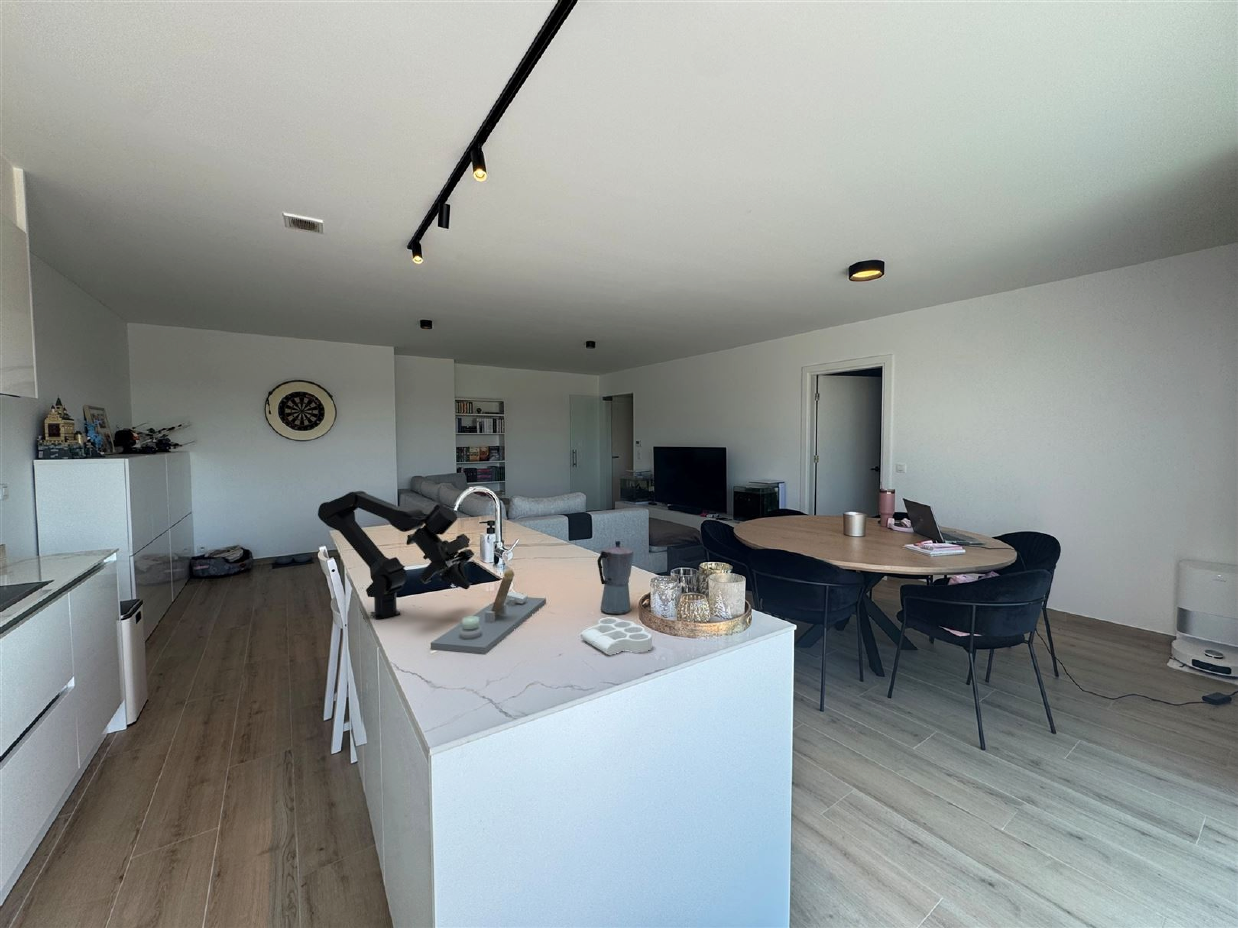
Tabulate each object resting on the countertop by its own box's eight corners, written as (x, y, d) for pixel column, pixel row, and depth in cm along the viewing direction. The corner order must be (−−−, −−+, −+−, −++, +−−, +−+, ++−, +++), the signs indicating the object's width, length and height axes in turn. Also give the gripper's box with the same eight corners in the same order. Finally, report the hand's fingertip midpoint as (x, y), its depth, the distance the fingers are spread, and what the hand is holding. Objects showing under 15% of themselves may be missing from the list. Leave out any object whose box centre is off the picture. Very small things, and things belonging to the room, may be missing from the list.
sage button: (458, 628, 119) (458, 620, 119) (467, 622, 123) (467, 615, 123) (474, 629, 118) (473, 622, 118) (482, 623, 122) (482, 616, 122)
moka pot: (643, 606, 146) (642, 539, 146) (614, 621, 133) (614, 548, 133) (616, 601, 152) (615, 536, 151) (586, 615, 139) (585, 544, 138)
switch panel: (430, 648, 116) (430, 631, 116) (503, 600, 153) (503, 587, 153) (485, 653, 113) (484, 636, 113) (546, 603, 150) (545, 589, 150)
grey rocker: (504, 599, 144) (505, 594, 144) (509, 595, 148) (510, 591, 148) (522, 603, 143) (522, 598, 143) (527, 599, 147) (527, 595, 147)
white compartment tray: (574, 638, 123) (621, 625, 131) (614, 663, 108) (665, 647, 117) (573, 625, 123) (621, 613, 131) (614, 648, 108) (665, 633, 117)
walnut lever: (486, 616, 131) (502, 570, 130) (494, 611, 135) (510, 566, 134) (495, 620, 131) (511, 574, 129) (502, 615, 135) (518, 570, 133)
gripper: (430, 531, 126) (469, 577, 124) (468, 521, 144) (503, 561, 142) (403, 560, 128) (441, 606, 126) (444, 546, 146) (478, 586, 144)
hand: (468, 588), depth 135 cm, fingers closed
